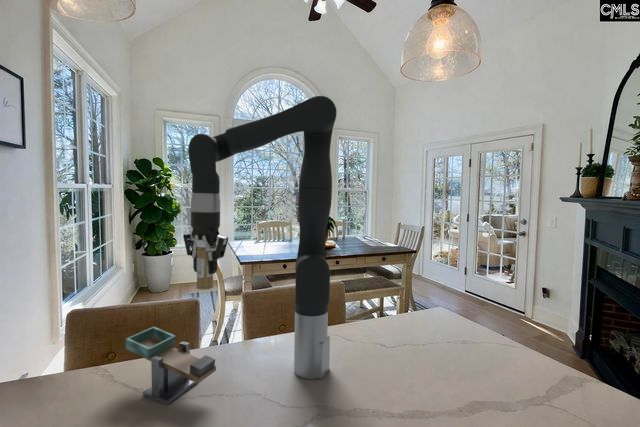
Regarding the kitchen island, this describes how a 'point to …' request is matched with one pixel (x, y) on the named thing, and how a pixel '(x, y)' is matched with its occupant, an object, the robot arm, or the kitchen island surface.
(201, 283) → the sprinkles bottle
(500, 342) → the kitchen island surface
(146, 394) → the fulcrum stand
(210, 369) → the beam
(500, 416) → the kitchen island surface
